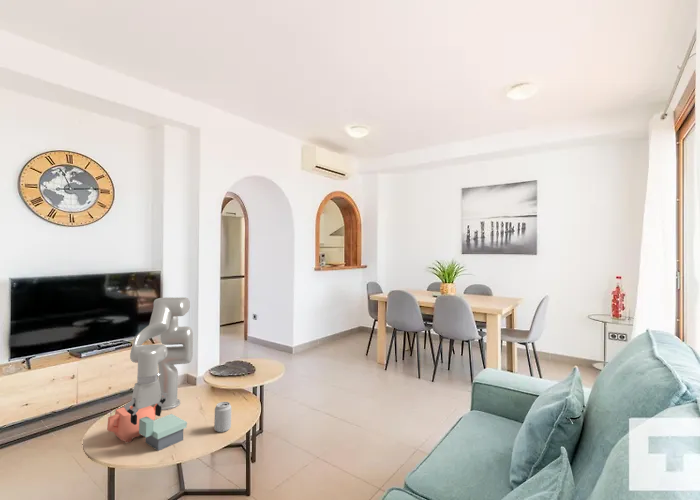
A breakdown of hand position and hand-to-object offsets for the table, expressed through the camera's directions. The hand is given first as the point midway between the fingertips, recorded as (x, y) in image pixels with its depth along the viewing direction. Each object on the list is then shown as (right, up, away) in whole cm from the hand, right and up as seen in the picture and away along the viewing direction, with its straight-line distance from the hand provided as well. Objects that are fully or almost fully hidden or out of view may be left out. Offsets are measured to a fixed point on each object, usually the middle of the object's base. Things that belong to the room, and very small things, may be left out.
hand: (146, 419), depth 151 cm
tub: (+4, -13, +7) cm, 15 cm away
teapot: (-12, -13, +12) cm, 21 cm away
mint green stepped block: (+3, -7, +6) cm, 10 cm away
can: (+26, -14, +19) cm, 35 cm away
